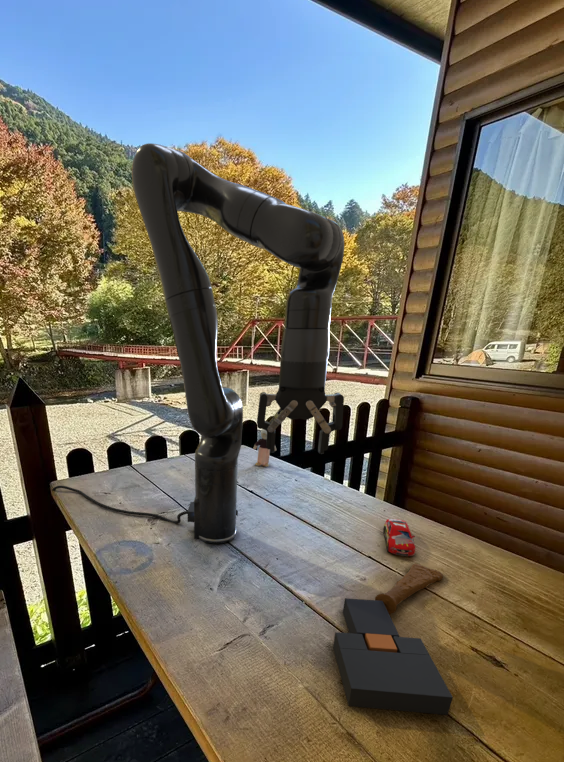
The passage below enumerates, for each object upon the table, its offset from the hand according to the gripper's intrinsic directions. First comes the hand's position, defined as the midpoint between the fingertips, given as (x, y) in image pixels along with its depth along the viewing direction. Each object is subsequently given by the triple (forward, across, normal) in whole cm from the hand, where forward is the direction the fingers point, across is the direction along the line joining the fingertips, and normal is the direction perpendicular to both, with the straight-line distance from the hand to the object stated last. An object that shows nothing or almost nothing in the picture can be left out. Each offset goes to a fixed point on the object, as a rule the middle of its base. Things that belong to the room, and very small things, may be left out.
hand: (296, 452), depth 73 cm
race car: (+24, -25, -12) cm, 37 cm away
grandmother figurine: (+24, +2, -61) cm, 66 cm away
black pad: (+24, -11, +26) cm, 37 cm away
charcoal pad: (+24, -11, +18) cm, 32 cm away
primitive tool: (+24, -21, +5) cm, 33 cm away
